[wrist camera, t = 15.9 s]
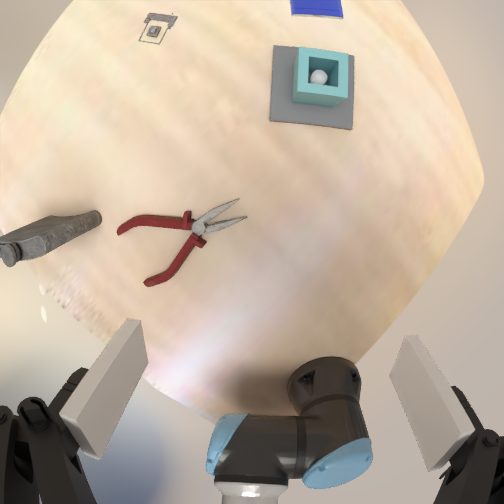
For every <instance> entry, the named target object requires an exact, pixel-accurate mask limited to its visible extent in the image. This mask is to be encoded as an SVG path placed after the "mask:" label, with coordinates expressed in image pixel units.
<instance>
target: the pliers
mask: <svg viewBox="0 0 504 504" xmlns="http://www.w3.org/2000/svg"><path fill="white" fill-rule="evenodd" d="M238 200H239V199H237V200H234V201H232V202H229V203H226V204H224V205H221V206H219V207H216V208H214V209H212V210H211V211H209V212H208V213H206V214H205V215H203V216H202V217H201V218H200V219H198V220H195V221H194V219H191V211H186V212H184V215H183V218H176V217H165V216H154V215H141V216H136V217H133V218H132V219H130V220H129V221H127V222H125V223H124V224H122V225H121V226H119V228H118V229H117V235H118V236H119V235H121V234H122V233H124V232H126V231H127V230H129V229H131V228H133V227H136V226H153V227H163V228H173V229H183V230H191V229H192V231H193V233H192V234H191V236H190V237H189V239H188V240H187V242H186V243H185V244H184V246H183V247H182V249H181V250H180V252H179V253H178V255H177V256H176V258H175V259H174V261H173V262H172V264H171V265H170V267H169V268H168V269H167V270H166V271H164V272H163V273H161V274H158V275H155V276H153V277H150V278H148V279H146V280H145V281H144V282H143V283H144V285H145V286H147V287H151V286H154V285H157V284H160V283H163V282H166V281H167V280H169V279H170V278H171V277H172V276H173V275H174V274H175V273H176V272H177V271H178V269H179V268H180V266H181V265H182V263H183V262H184V261H185V259H186V258H187V256H188V255H189V253H190V252H191V251H192V249H193V248H194V246H195V245H196V246H198V247H199V248H202V247H203V246H204V245H205V243H206V241H205V240H204V239H202V238H201V235H202V233H205V232H206V233H210V232H214V231H218V230H221V229H224V228H226V227H228V226H230V225H232V224H234V223H236V222H238V221H241V220H243V219H245V218H247V216H246V217H240V218H235V219H230V220H224V221H220V222H216V223H215V224H214V225H210V226H208V224H207V223H206V222H207V221H209V220H210V219H212V218H213V217H215V216H216V215H218V214H219V213H221V212H222V211H223V210H225V209H226V208H228V207H229V206H231V205H232V204H234V203H235V202H236V201H238Z"/></svg>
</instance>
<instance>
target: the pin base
mask: <svg viewBox="0 0 504 504" xmlns="http://www.w3.org/2000/svg"><path fill="white" fill-rule="evenodd" d="M298 49H299V47H289V46H276V45H274V52H273V71H272V90H271V108H270V121H275V122H288V123H299V124H308V125H317V126H325V127H333V128H340V129H347V130H351V129H352V126H353V104H354V56H352V55H348V98H347V99H345V100H344V101H342V102H341V103H339V104H338V105H336V106H335V107H333V108H332V107H325V106H318V105H309V104H300V103H292V91H293V68H294V62H295V59H296V55H297V52H298ZM326 81H327V74H326V73H325V72H324V71H323V70H315V71H314V72H313V73H312V74H308V83H312V84H320V85H326Z"/></svg>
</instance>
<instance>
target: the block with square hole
mask: <svg viewBox="0 0 504 504" xmlns="http://www.w3.org/2000/svg"><path fill="white" fill-rule="evenodd" d="M315 70H323V71H324V72H325V73H326V74H327V81H326V85H320V84H312V83H308V74H312V73H313V72H314V71H315ZM347 98H348V54H345V53H340V52H334V51H327V50H321V49H313V48H305V47H299V49H298V52H297V55H296V59H295V62H294V68H293V91H292V103H300V104H309V105H318V106H325V107H332V108H333V107H335V106H336V105H338V104H339V103H341V102H342V101H344V100H345V99H347Z"/></svg>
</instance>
